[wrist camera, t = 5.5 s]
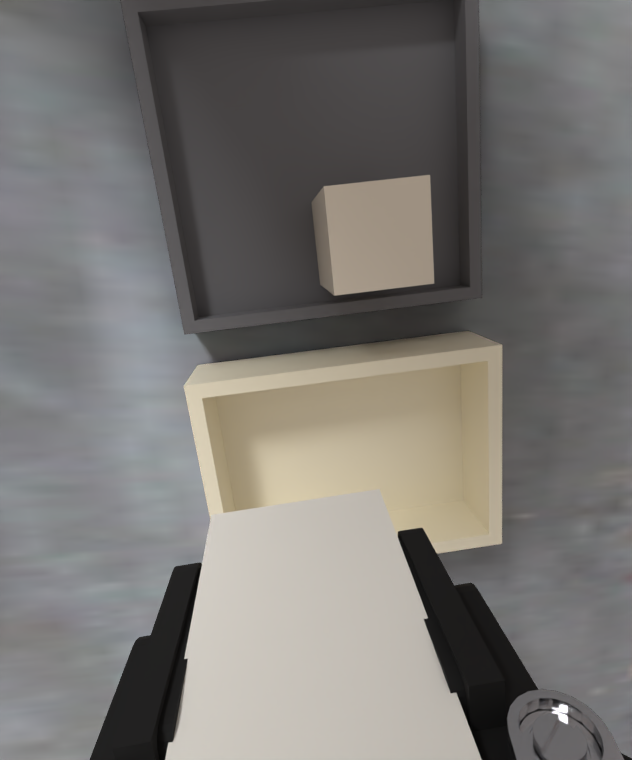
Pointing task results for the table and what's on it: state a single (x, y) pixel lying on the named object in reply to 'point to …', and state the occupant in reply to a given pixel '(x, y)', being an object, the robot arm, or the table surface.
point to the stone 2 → (313, 643)
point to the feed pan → (303, 142)
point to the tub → (360, 432)
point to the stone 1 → (374, 235)
